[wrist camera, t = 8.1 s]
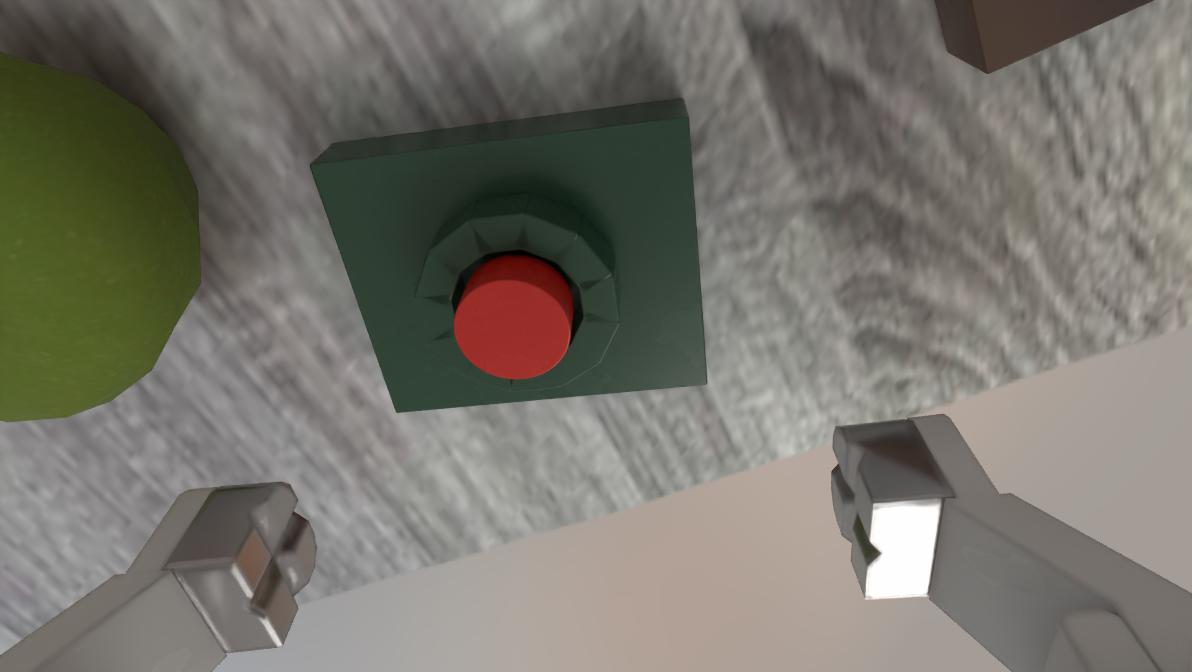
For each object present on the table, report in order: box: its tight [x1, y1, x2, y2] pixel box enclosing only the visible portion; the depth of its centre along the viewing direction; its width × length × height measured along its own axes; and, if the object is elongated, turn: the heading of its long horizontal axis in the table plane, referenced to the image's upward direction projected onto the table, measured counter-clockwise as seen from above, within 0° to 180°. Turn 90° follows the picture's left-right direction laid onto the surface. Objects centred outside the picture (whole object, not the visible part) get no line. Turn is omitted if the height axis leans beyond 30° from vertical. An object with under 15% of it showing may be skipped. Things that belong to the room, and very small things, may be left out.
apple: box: [0, 53, 201, 422], centre depth 22 cm, size 11×10×10 cm
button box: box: [310, 98, 707, 413], centre depth 26 cm, size 12×10×4 cm
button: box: [454, 255, 574, 379], centre depth 23 cm, size 4×4×2 cm
